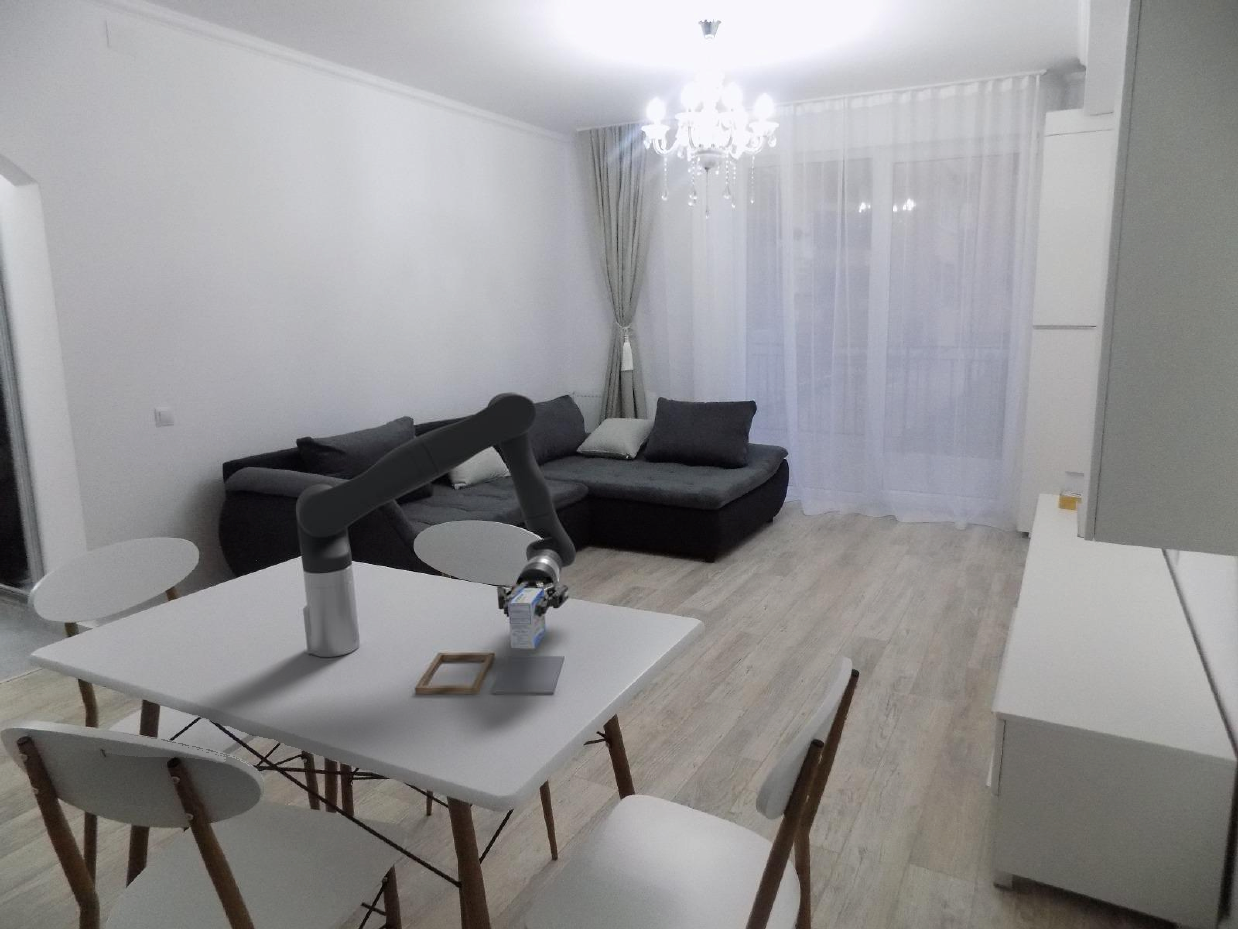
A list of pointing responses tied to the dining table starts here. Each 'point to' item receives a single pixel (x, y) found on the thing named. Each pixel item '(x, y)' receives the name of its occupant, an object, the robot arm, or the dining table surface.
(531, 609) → the medicine box
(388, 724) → the dining table surface
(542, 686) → the charcoal mat
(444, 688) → the walnut tray
